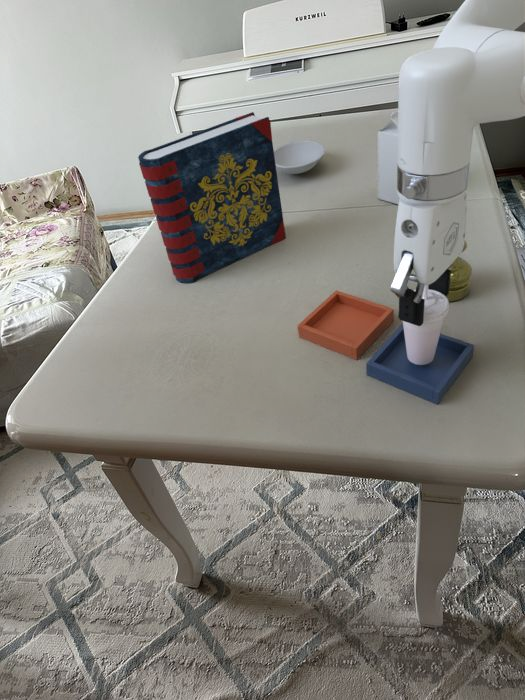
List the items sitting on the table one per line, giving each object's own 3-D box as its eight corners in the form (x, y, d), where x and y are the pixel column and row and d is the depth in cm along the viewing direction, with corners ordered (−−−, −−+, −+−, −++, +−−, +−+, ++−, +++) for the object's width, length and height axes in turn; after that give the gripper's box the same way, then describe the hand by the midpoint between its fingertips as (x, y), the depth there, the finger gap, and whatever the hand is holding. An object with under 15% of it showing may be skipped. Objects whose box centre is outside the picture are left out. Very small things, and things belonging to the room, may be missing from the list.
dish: (323, 184, 127) (322, 164, 124) (266, 188, 130) (263, 169, 127) (328, 156, 140) (327, 137, 137) (276, 160, 143) (274, 142, 140)
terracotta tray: (393, 320, 84) (393, 308, 83) (356, 360, 79) (356, 348, 77) (336, 301, 91) (336, 290, 89) (298, 336, 85) (297, 325, 83)
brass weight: (426, 276, 92) (429, 225, 86) (471, 279, 89) (478, 227, 83) (419, 300, 87) (423, 248, 81) (466, 305, 85) (473, 251, 78)
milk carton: (377, 199, 117) (377, 111, 105) (397, 187, 120) (399, 100, 108) (403, 207, 112) (406, 116, 100) (423, 194, 116) (428, 104, 103)
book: (183, 288, 101) (146, 164, 85) (168, 274, 106) (130, 154, 90) (287, 238, 110) (271, 117, 94) (269, 228, 114) (251, 110, 98)
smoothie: (450, 348, 75) (459, 266, 66) (434, 377, 71) (441, 293, 62) (408, 337, 78) (411, 257, 69) (390, 363, 74) (391, 282, 65)
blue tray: (472, 357, 76) (474, 344, 74) (437, 404, 70) (439, 392, 68) (403, 332, 82) (404, 321, 80) (366, 375, 76) (366, 363, 75)
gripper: (426, 219, 51) (418, 354, 62) (497, 151, 60) (479, 281, 71) (360, 205, 55) (364, 334, 67) (436, 144, 64) (428, 267, 75)
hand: (424, 306), depth 69 cm, fingers closed on smoothie, 6 cm apart
